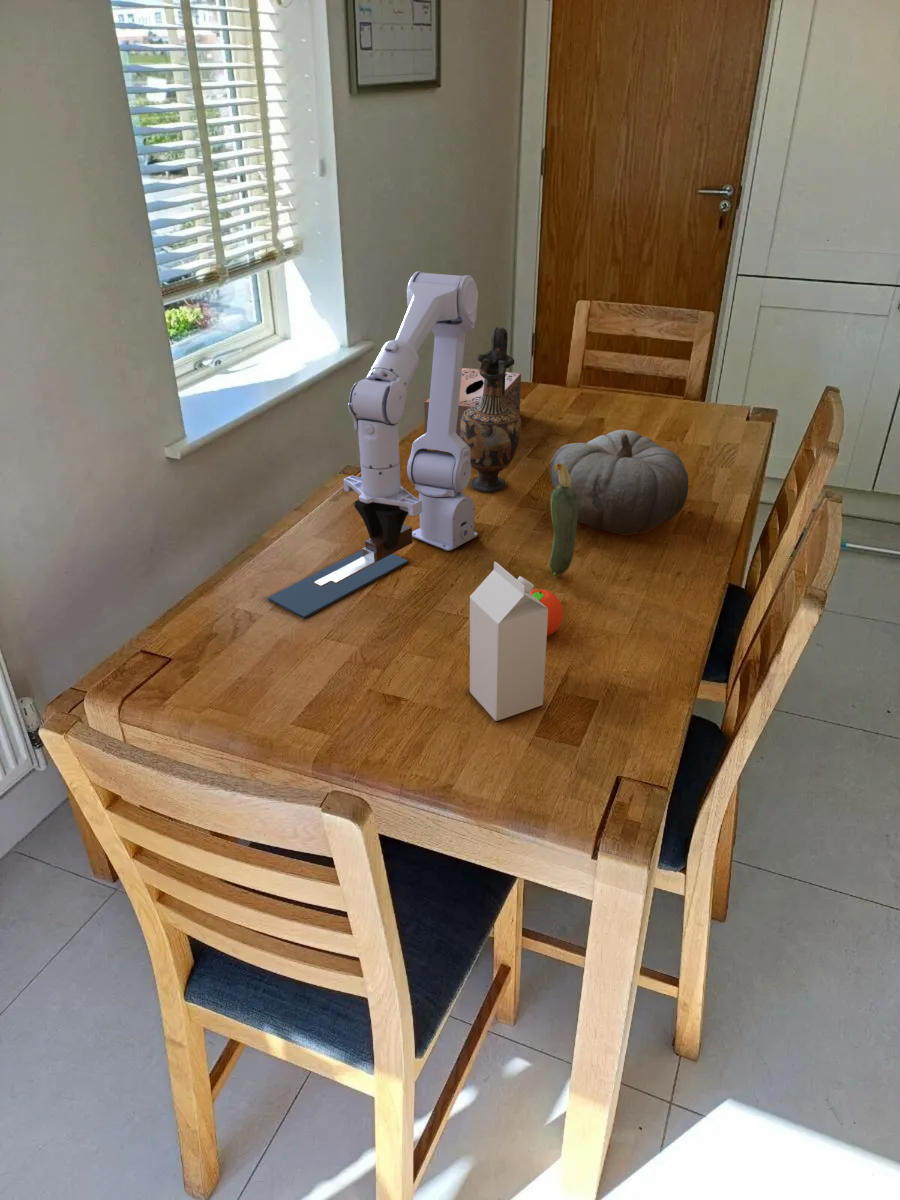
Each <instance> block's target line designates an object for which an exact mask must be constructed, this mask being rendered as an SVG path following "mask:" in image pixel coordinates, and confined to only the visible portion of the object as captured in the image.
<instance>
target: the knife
mask: <svg viewBox="0 0 900 1200" xmlns="http://www.w3.org/2000/svg"><path fill="white" fill-rule="evenodd" d="M412 532H413V527H412V526H410V525H407V524H405V523H403V526H402V529H401V532H400V536H399V541H398V545H397V546H396V547H394V548H392V549H390V550H388V549H386V547H385V544H384V538H383V532H382V533H380V534H378V535H376V536H374V537H372V538H370V537H369V538H368V539H366V540H364V543H365V546H364V547H362V550H363V557H361V558H359V559H357V560H356V561H354V562H352V563H350V564H348V565H346V566H344V567H342V568H340V569H338V570H336V571H334V572H333V573H331V574H329V575H327V576H325V577H323V578H321V579H319V580H317V581H315V582H314V584H316V585H318V586H320V587H323V586H325V585H327V584H329V583H330V582H333V583H335V584H337V583H339V582H341V581H343V580H345V579H347V578H349V577H351V576H352V575H354V574H356V573H358V572H360V571H362V570H364V569H366V568H367V567H369V566H371V565H373V564H375V563H376V562H378V561H379V560H381V559H383V558H385V557H387V556H389V555H391V554H394V553H397V552H398V551H400V550H402V549H404V548H406V547H408V546H409V545H412V544H413V537H412Z"/></svg>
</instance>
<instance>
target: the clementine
mask: <svg viewBox="0 0 900 1200" xmlns="http://www.w3.org/2000/svg"><path fill="white" fill-rule="evenodd" d="M530 594H531V595H533V596H534V597H535V598H536V599H537V600H539V601H540V602H541V603H542V604H543V605H544V606H546V607H547V608H548V621H547V637H548V636H550V635H552V634H553V633H554V632H556V631H557V630H558V629H559V627H560V625H561V624H562V621H563V618H564V611H563V610H564V609H563V605H562V603H561V601H560V599H559V598H558V597H557V596H556V595H555V594H554V593H553V592H551V591H549V590H547V589H541V588H540V589H539V588H537V589H532V590H531V592H530Z"/></svg>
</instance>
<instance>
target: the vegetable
mask: <svg viewBox="0 0 900 1200" xmlns="http://www.w3.org/2000/svg"><path fill="white" fill-rule="evenodd" d="M566 467H567V466H565V465H563V464H562V463H558V464H556V465H555V467H554V470H555V473H556V472H557V471H558V469H559V472H558V479H559V482H560V484H559V485H560V486H558V487H556V488H555V489H554V488H553V490H552V492H551V495H550V502H549V503H550V514H551V523H552V528H553V539H552V545H551V550H550V551H551V552H550V558H549V568H550V573H551V574H552V576H553V577H556V578H558V577H561V576H562V575H563V574H564V573H565V572H567V571H568V569H569V568H570V566H571V563H572V561H573V557H574V552H575V544H576V537H577V527H578V521H577V519H578V496H577V493H576V491H575V489H574V488H573V487H571V477H570V475H569V473H568V469H567V468H566Z"/></svg>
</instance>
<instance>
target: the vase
mask: <svg viewBox="0 0 900 1200" xmlns="http://www.w3.org/2000/svg"><path fill="white" fill-rule="evenodd" d="M508 339H509V338H508V331H507V329H506V328H505V327H499V326H498V327H497V326H496V327H495V328H494V329H493V331H492V333H491V337H490V340H491V341H490V342H491V347H490V350H489V351H488V352H486V353H484V354H482V353H479V354H477V356H476V359H477V361H478V362H480V367H479V373H480V375H481V376H482V377H483V378H485V379H484V390H483V396H482V400H481V402H480V404H479V405H476V406H473V407H470V408H468V409H467V410H466V411H465V412H464V413H463V415H462V418H461V426H460V433H461V439H462V440H463V441H464V442H465V443H466V444H467V445H468V446H469V447H470V462H471V468H472V469H474V470H475V471H477V477H475V478H473V479H471V481H470V482H469V485H470V486H469V487H471V489H473V490H474V491H475V490H476V491H478V492H482V493H496V492H497V493H498V492H500V491H502V490H504V489H505V488H506V486H507V484H506V481H505V480H504V479H503V478H502V477H499V474H500V472H502V471H504V470H505V469H506V468H508V467H509V465H510V464H511V463H512V461H513V460H514V459H515V456H516V453H517V450H518V448H519V444H520V441H521V436H522V435H521V434H522V418H521V414H520V415H519V414H518V413H517V412H516V411H515V410H513V409H512V408H510V407H507V405H506V400H505V374H506V372H507V369H509V368H510V367H513V366H514V365H515V359H514V358H513V357H512V356H510V355H508V354H507V353H508V352H507V351H508V341H509V340H508Z"/></svg>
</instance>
